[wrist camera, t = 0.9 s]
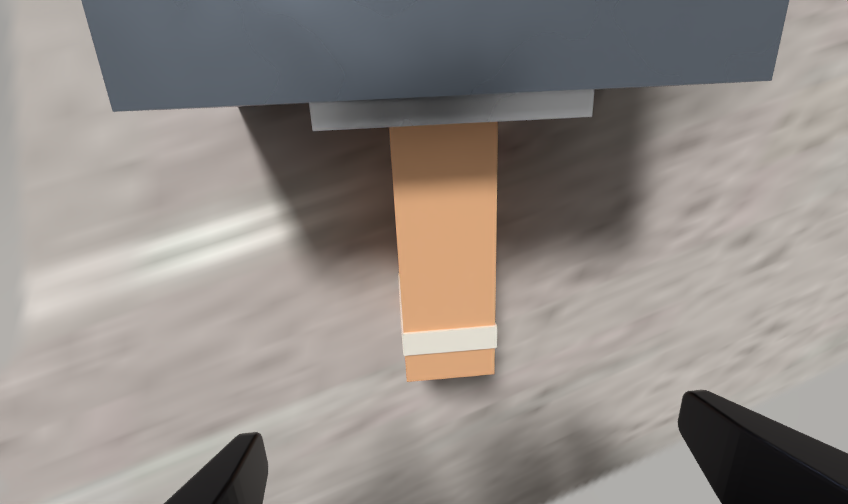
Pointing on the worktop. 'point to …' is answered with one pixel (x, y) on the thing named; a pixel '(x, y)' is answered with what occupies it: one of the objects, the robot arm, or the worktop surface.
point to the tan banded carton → (446, 247)
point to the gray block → (423, 54)
